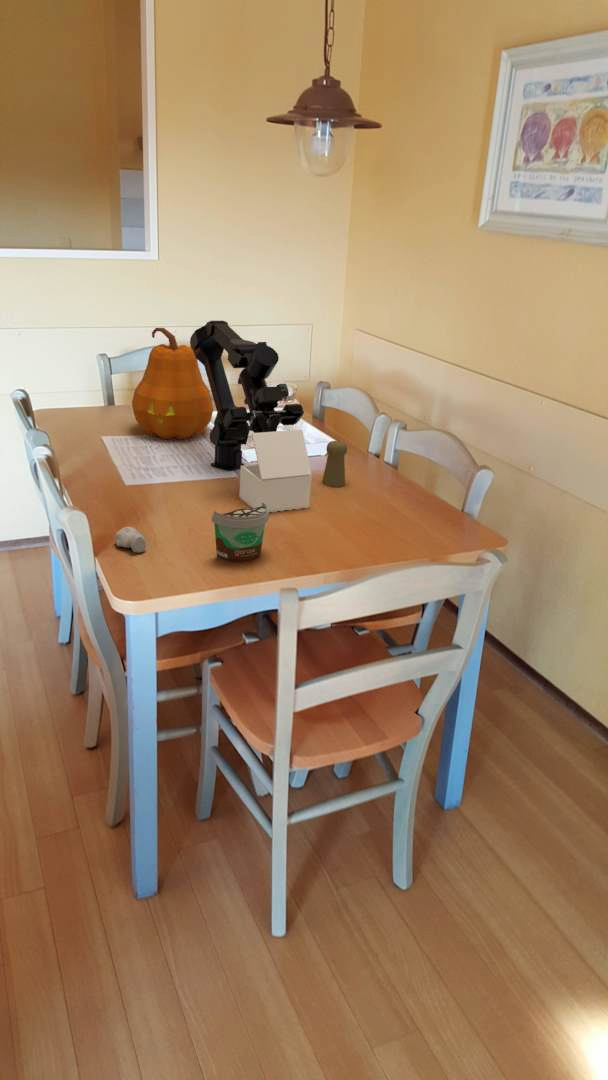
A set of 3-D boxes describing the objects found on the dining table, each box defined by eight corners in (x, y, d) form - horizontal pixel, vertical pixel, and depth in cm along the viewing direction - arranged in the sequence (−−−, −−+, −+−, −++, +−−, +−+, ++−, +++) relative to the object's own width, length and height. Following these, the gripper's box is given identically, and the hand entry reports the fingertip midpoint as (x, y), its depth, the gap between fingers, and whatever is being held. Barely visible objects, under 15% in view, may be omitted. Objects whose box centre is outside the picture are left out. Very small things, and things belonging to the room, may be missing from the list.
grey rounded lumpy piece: (114, 547, 166) (137, 536, 168) (128, 562, 160) (151, 550, 162) (107, 529, 164) (130, 519, 166) (121, 543, 158) (145, 532, 160)
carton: (239, 497, 194) (240, 465, 191) (288, 492, 200) (290, 461, 197) (258, 514, 185) (260, 480, 182) (309, 508, 191) (311, 475, 188)
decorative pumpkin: (117, 437, 232) (115, 330, 220) (154, 418, 253) (154, 319, 241) (193, 449, 226) (195, 340, 215) (225, 429, 247) (229, 328, 236)
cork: (343, 488, 205) (347, 446, 201) (319, 485, 206) (323, 443, 202) (347, 481, 211) (351, 440, 207) (324, 478, 212) (327, 437, 208)
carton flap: (251, 433, 184) (252, 433, 183) (301, 430, 189) (302, 429, 189) (261, 479, 182) (262, 479, 182) (310, 474, 188) (311, 474, 187)
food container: (226, 570, 157) (227, 522, 153) (210, 558, 162) (211, 511, 158) (278, 558, 164) (282, 511, 160) (262, 547, 169) (264, 501, 165)
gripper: (229, 372, 183) (247, 433, 178) (303, 369, 191) (322, 427, 186) (215, 399, 192) (232, 457, 187) (286, 395, 201) (304, 451, 196)
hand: (273, 447), depth 189 cm, fingers closed
